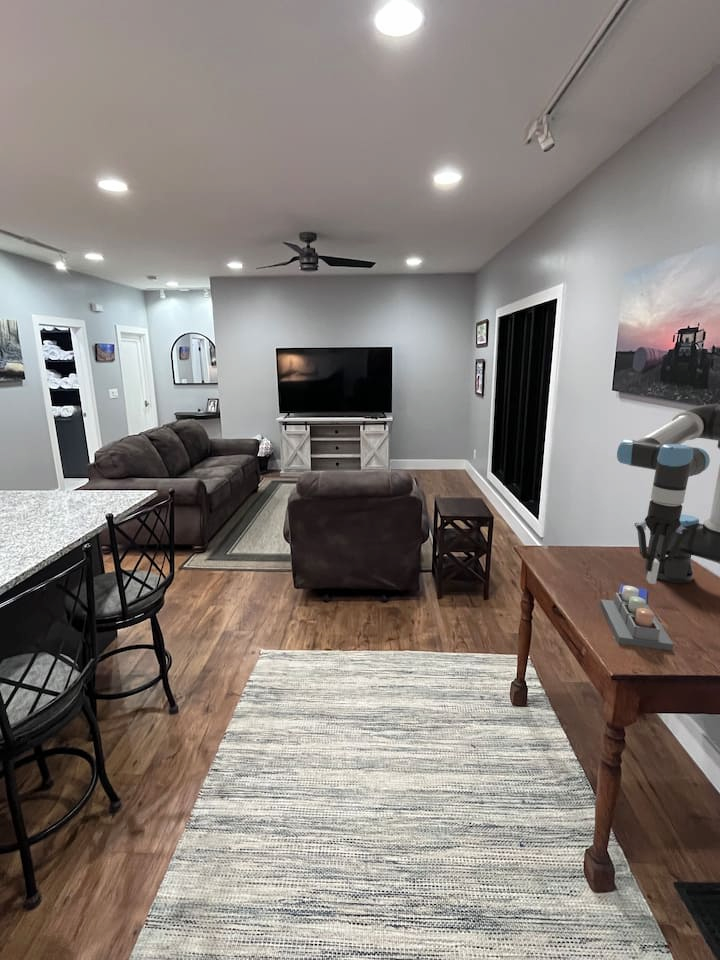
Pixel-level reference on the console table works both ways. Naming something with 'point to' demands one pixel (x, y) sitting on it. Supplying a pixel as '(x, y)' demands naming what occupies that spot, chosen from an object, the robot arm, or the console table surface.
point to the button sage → (636, 604)
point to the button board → (633, 626)
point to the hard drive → (641, 592)
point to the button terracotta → (644, 617)
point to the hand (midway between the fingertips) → (650, 581)
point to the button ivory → (629, 593)
